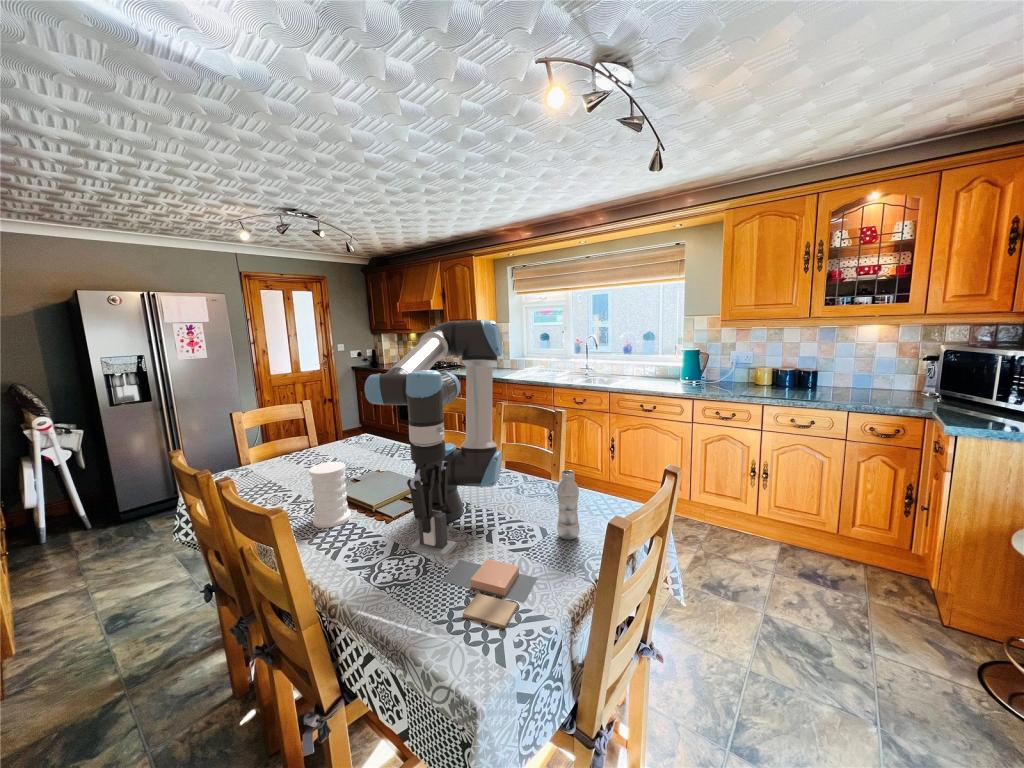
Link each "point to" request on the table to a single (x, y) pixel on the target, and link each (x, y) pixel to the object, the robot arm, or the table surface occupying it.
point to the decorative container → (329, 494)
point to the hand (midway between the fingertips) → (433, 540)
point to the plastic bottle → (568, 506)
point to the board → (490, 610)
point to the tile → (495, 577)
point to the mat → (462, 578)
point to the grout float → (442, 544)
